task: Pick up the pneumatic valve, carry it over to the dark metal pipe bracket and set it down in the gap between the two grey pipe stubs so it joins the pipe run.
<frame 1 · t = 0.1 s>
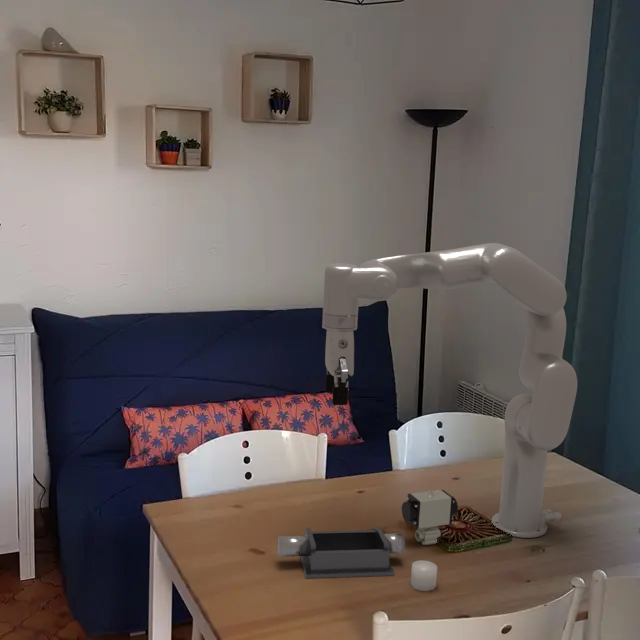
hand: (336, 398, 183), 31 cm above the table, tool pointing down, fingers open, 9 cm apart
pneumatic valve: (426, 541, 186), on the table
pipe bracket: (345, 562, 174), on the table
end cap: (423, 584, 167), on the table
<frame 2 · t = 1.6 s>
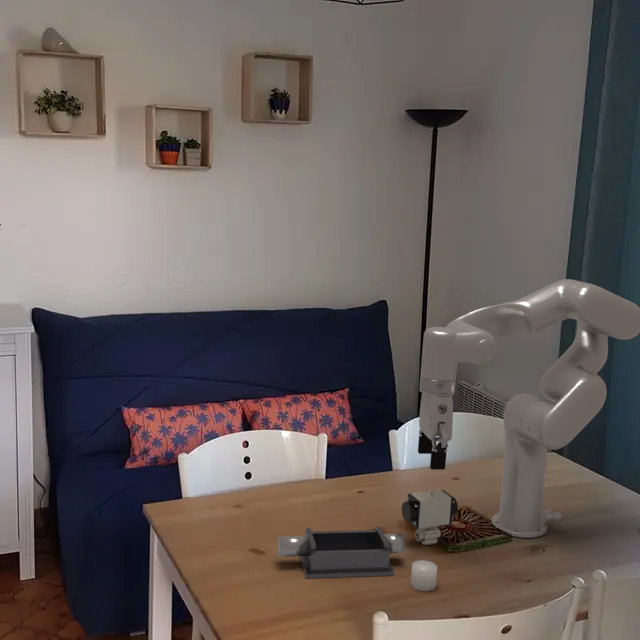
hand: (431, 461, 182), 19 cm above the table, tool pointing down, fingers open, 9 cm apart
nothing on the table moved.
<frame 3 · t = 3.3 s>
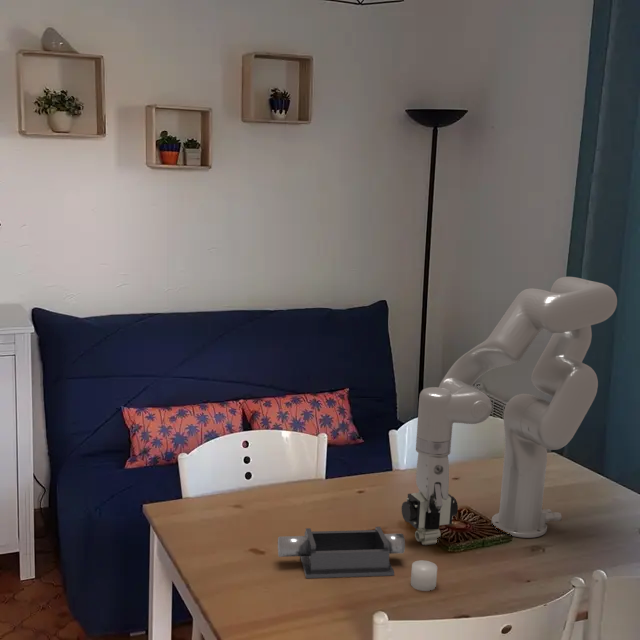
hand: (427, 522, 185), 4 cm above the table, tool pointing down, fingers closed on pneumatic valve, 5 cm apart
pneumatic valve: (426, 541, 186), on the table, touching gripper
everything else where it was.
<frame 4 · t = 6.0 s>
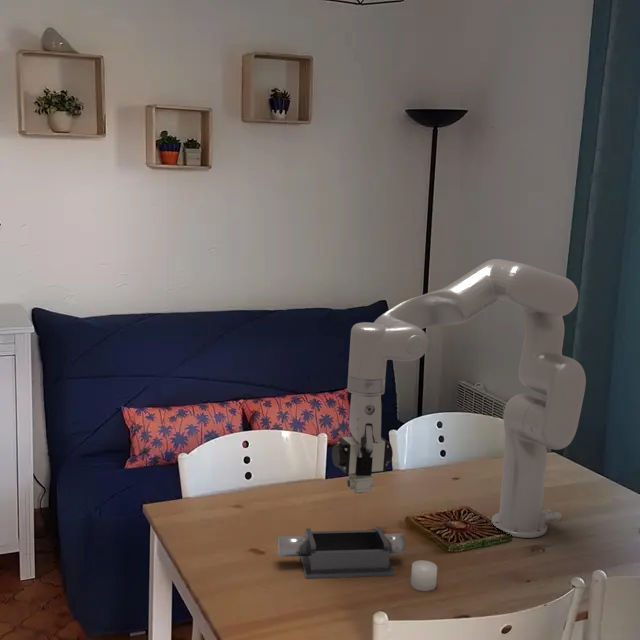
hand: (360, 468, 172), 20 cm above the table, tool pointing down, fingers closed on pneumatic valve, 5 cm apart
pneumatic valve: (359, 490, 173), point 15 cm above the table, touching gripper
everything else where it was.
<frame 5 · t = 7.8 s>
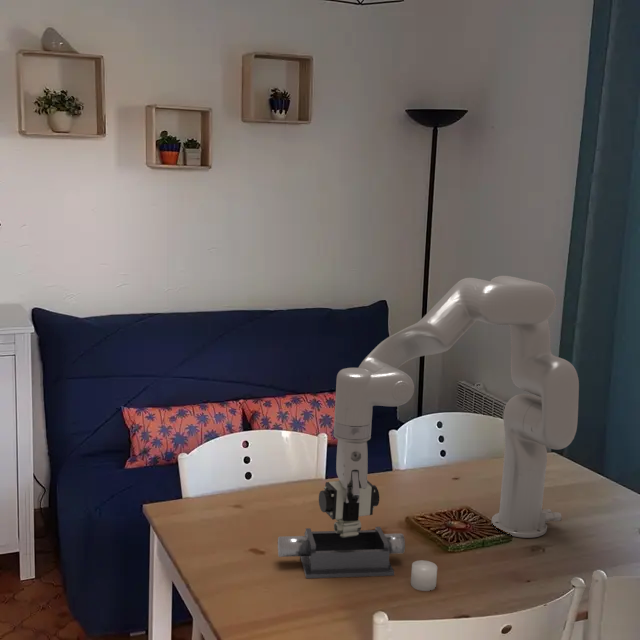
hand: (347, 513, 172), 11 cm above the table, tool pointing down, fingers closed on pneumatic valve, 5 cm apart
pneumatic valve: (346, 534, 173), point 6 cm above the table, touching gripper
everything else where it was.
when the fingers open (7 cm above the table, at t = 9.0 s): pneumatic valve drops 1 cm, resting on pipe bracket.
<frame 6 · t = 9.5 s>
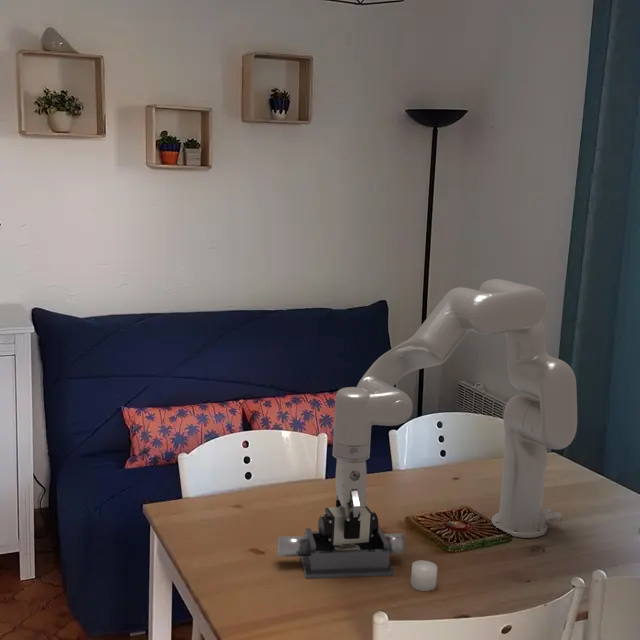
hand: (347, 527, 173), 8 cm above the table, tool pointing down, fingers open, 9 cm apart
pneumatic valve: (345, 559, 174), point 1 cm above the table, touching pipe bracket
everything else where it was.
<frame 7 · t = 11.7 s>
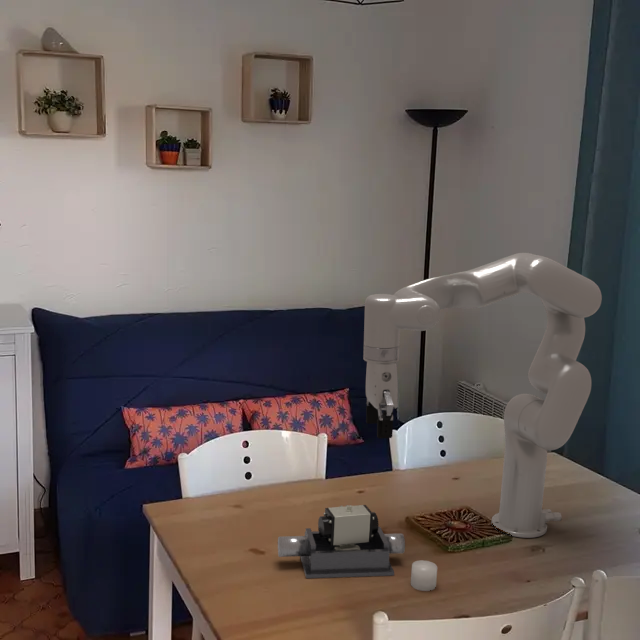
hand: (378, 430, 180), 25 cm above the table, tool pointing down, fingers open, 9 cm apart
nothing on the table moved.
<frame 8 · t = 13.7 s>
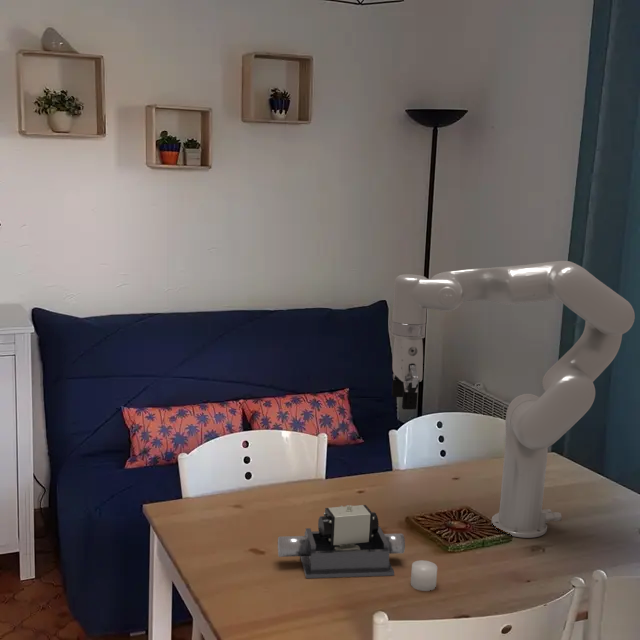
hand: (403, 402, 192), 28 cm above the table, tool pointing down, fingers open, 9 cm apart
nothing on the table moved.
at the end: pneumatic valve 0.1 cm off-centre on the pipe bracket, point 0.6 cm above the pipe bracket's base; pneumatic valve tilted 0°; the gripper is holding nothing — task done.
